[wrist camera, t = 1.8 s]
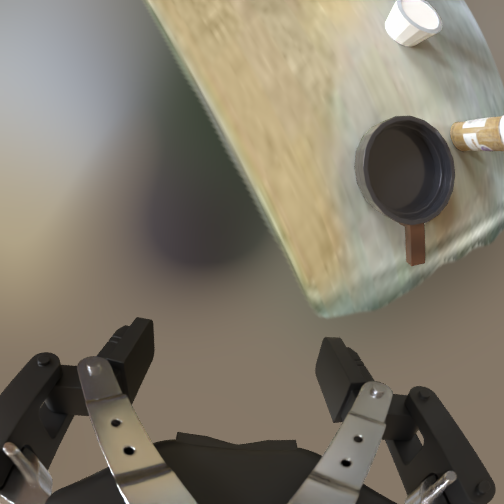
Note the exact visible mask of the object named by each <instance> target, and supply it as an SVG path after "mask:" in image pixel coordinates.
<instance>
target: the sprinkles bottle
mask: <svg viewBox="0 0 504 504" xmlns="http://www.w3.org/2000/svg"><path fill="white" fill-rule="evenodd" d="M450 134H451V139H452V142H453V144H454V145H455V147H456V148H457V149H459V150H461V151H468V150H474V151H504V115H503V116H501V117H488V118H481V119H474V120H468V121H466V122H455V123H454V124H453V125H452V127H451V131H450Z"/></svg>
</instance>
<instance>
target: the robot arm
mask: <svg viewBox="0 0 504 504" xmlns="http://www.w3.org/2000/svg"><path fill="white" fill-rule="evenodd" d="M153 357H154V331H153V321H152V320H150V319H144V318H138V317H137V318H136V319H135V320H134V321H133V323H132V324H131V325H130V326H126V325H125V326H123V327H121V328H120V329H118V330H117V331H116V332H115V333H114V334H113V337H111V338H110V340H109V342H107V343H106V345H105V346H104V347H103V349H102V350H101V351H100V352H99V354H98V355H97V356H93V357H87V358H84V359H83V360H81V361H80V362H79V363H78V365H77V366H69V365H61V364H60V360H59V358H58V357H57V356H56V355H55V354H52V353H48V352H45V353H39V354H37V355H35V356H34V357H33V358H32V359H31V360H30V361H29V362H28V363H27V364H26V365H25V366H24V368H23V369H22V370H21V371H20V372H19V373H18V374H17V376H16V377H15V378H14V379H13V380H12V381H11V382H10V384H9V385H8V386H7V387H6V389H5V390H4V391H3V392H2V393H1V395H0V503H1V504H397V503H395V502H393V501H391V500H389V499H388V498H386V497H384V496H383V495H381V494H379V493H378V492H376V491H374V490H373V489H371V488H369V487H368V486H366V485H364V484H363V482H364V480H365V478H366V476H367V474H368V471H369V469H370V467H371V465H372V462H373V460H374V457H375V455H376V452H377V450H378V447H379V445H380V442H381V439H383V440H385V441H386V443H387V445H388V448H389V450H390V453H391V455H392V457H393V460H394V463H395V465H396V467H397V470H398V472H399V475H400V477H401V480H402V482H403V485H404V488H405V490H406V492H407V495H408V496H407V498H406V500H405V504H487V503H488V502H490V501H491V500H492V498H493V496H494V494H495V484H494V482H493V480H492V478H491V477H490V475H489V473H488V472H487V470H486V468H485V467H484V465H483V463H482V462H481V460H480V459H479V457H478V455H477V454H476V452H475V451H474V449H473V448H472V446H471V445H470V443H469V441H468V440H467V439H466V437H465V436H464V434H463V433H462V431H461V430H460V428H459V427H458V425H457V424H456V422H455V421H454V419H453V418H452V417H451V415H450V414H449V412H448V411H447V410H446V408H445V407H444V405H443V404H442V402H441V401H440V400H439V398H438V397H437V396H436V394H435V393H434V392H433V391H432V390H430V389H428V388H426V387H422V386H416V387H414V388H412V389H411V390H410V392H409V394H408V395H398V394H393V392H392V390H391V389H390V387H389V386H387V385H386V384H384V383H381V382H377V381H374V379H373V378H372V376H371V375H370V373H369V372H368V370H367V369H366V367H365V366H364V363H363V362H362V361H361V359H360V357H359V356H358V354H357V353H356V352H355V351H353V350H352V349H351V348H349V347H346V346H345V344H344V343H343V341H342V339H341V338H335V337H333V338H332V337H325V338H324V339H323V342H322V345H321V349H320V353H319V356H318V359H317V363H316V377H317V379H318V382H319V385H320V387H321V390H322V393H323V395H324V398H325V401H326V404H327V407H328V409H329V412H330V414H331V417H332V420H333V423H337V422H343V423H342V425H341V427H340V428H339V430H338V432H337V433H336V435H335V437H334V438H333V440H332V442H331V443H330V445H329V446H328V448H327V450H326V451H325V453H324V454H323V456H321V455H319V454H317V453H314V452H312V451H309V450H306V449H302V448H297V443H296V440H266V441H261V442H254V443H248V444H240V445H236V444H232V443H228V442H225V441H221V440H218V439H214V438H211V437H208V436H201V435H194V434H187V433H181V432H177V437H176V440H164V441H160V442H156V443H152V441H151V439H150V438H149V437H148V434H147V433H146V431H145V429H144V427H143V425H142V424H141V422H140V420H139V418H138V416H137V415H136V413H135V411H134V409H133V407H132V403H133V401H134V399H135V397H136V395H137V392H138V390H139V388H140V385H141V384H142V381H143V379H144V377H145V375H146V373H147V371H148V369H149V367H150V364H151V362H152V360H153ZM44 401H45V402H44ZM43 402H44V403H43ZM42 404H43V405H42ZM41 405H42V406H41ZM40 407H41V408H40ZM74 415H81V416H90V419H91V422H92V425H93V428H94V431H95V434H96V437H97V439H98V442H99V445H100V447H101V450H102V452H103V454H104V457H105V459H106V462H107V464H108V466H109V467H107V468H105V469H103V470H101V471H99V472H97V473H95V474H93V475H91V476H89V477H86V478H84V479H82V480H80V481H78V482H75V483H73V484H71V485H69V486H66V487H64V488H61V489H59V490H57V491H55V492H54V493H53V494H52V485H53V481H52V477H51V475H50V473H49V472H48V469H49V466H50V464H51V462H52V460H53V458H54V456H55V454H56V451H57V449H58V447H59V445H60V443H61V441H62V439H63V437H64V435H65V433H66V431H67V429H68V427H69V425H70V423H71V421H72V419H73V417H74ZM418 430H420V432H421V434H422V435H423V438H424V445H423V446H422V444H421V442H420V440H419V438H418V436H417V435H416V432H417V431H418Z"/></svg>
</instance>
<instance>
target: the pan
mask: <svg viewBox="0 0 504 504" xmlns="http://www.w3.org/2000/svg"><path fill="white" fill-rule="evenodd" d="M354 167H355V173H356V179H357V184H358V186H359V188H360V190H361V192H362V194H363V196H364V198H365V199H366V200H367V201H368V203H369V204H370V205H371V206H372V207H373V208H374V209H375V210H376V211H378V212H380V213H382V214H383V215H385V216H387V217H389V218H391V219H392V220H394V221H396V222H398V223H403V224H408V225H416V224H422V223H426V222H428V221H430V220H431V219H433V218H434V217H436V216H438V215H439V213H440V212H441V211H442V210H443V209H444V207H445V206H446V205H447V204H448V201H449V199H450V196H451V194H452V192H453V187H454V179H455V169H454V162H453V157H452V155H451V152H450V149H449V147H448V145H447V143H446V141H445V140H444V138H443V137H442V136H441V134H440V133H439V132H438V130H436V129H435V128H434V127H433V126H431V125H430V124H429V123H427V122H426V121H424V120H422V119H419V118H416V117H413V116H396V117H393V118H390V119H388V120H385V121H383V122H381V123H379V124H377V125H375V126H372V127H371V128H370V130H369V131H368V132H367V133H366V134H365V135H364V136H363V137H362V139H361V141H360V144H359V146H358V148H357V150H356V157H355V166H354Z"/></svg>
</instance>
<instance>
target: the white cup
mask: <svg viewBox="0 0 504 504" xmlns="http://www.w3.org/2000/svg"><path fill="white" fill-rule="evenodd" d="M442 26H443V25H442V21H441V17H440V16H439V14H438V13H437V11H436V10H435V9H434V8H433V7H432V6H431V5H430V4H429V3H428V2H427V1H425V0H396V2H395V4H394V6H393V8H392V10H391V12H390V14H389V16H388V18H387V20H386V22H385V28H386V31H387V32H388V34H389V36H390V37H391V38H392V39H393V40H394V41H396V42H398V43H399V44H401V45H404V46H407V47H411V46H415V45H416V44H418V43H420V42H422V41H424V40H425V39H427V38H429V37H431V36H433V35H435V34H436V33H438V32H440V31H441V29H442Z"/></svg>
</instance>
